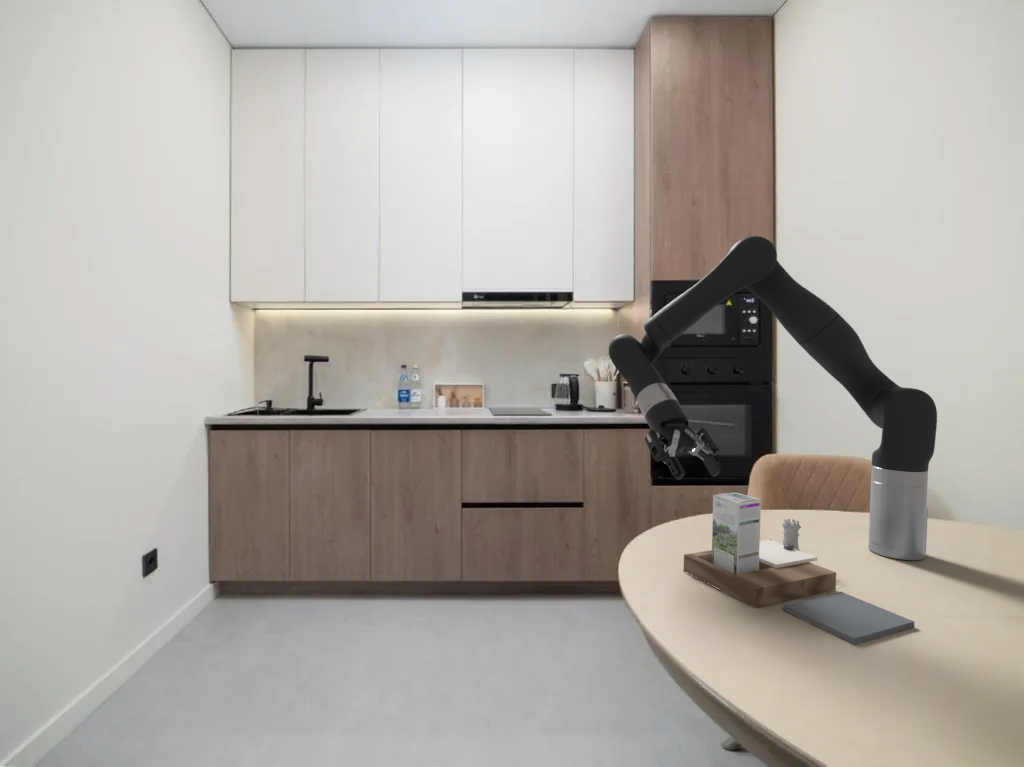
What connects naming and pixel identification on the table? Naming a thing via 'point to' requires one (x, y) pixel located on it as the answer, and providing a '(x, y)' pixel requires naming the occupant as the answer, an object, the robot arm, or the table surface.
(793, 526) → the rook chess piece
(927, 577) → the table surface
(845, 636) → the rubber mat
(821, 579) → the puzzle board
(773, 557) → the sliding lid
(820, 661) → the table surface
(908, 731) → the table surface
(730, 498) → the syrup box
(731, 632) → the table surface
